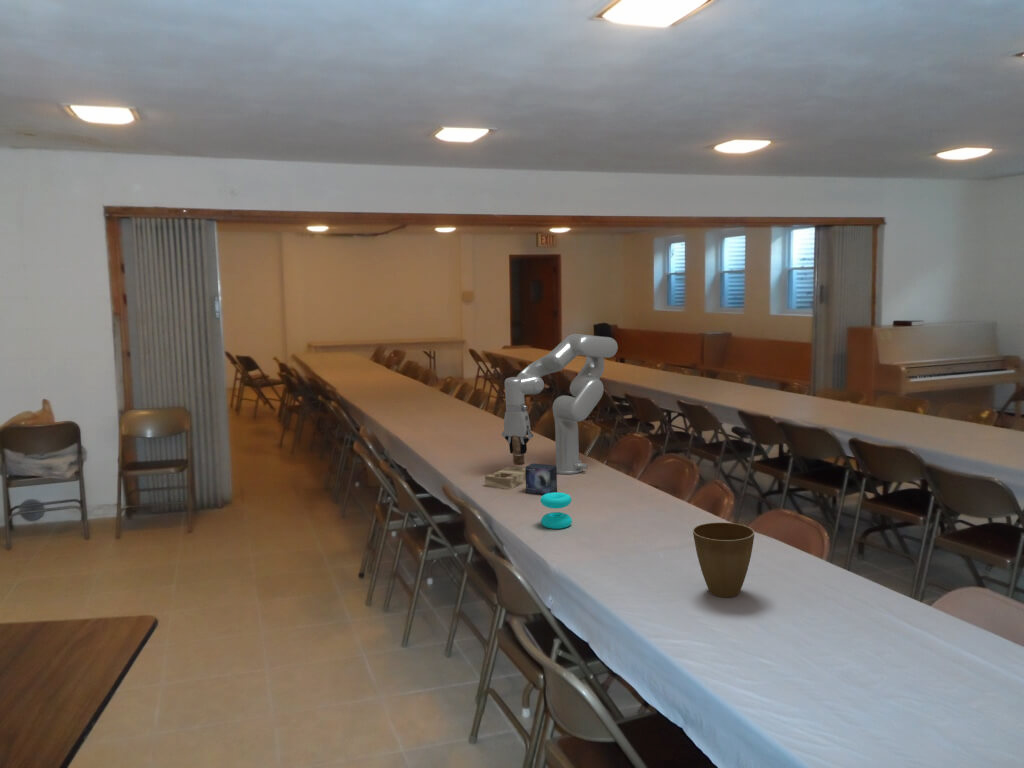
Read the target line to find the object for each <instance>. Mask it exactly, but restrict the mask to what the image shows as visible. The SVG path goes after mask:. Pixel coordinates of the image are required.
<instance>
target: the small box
mask: <svg viewBox="0 0 1024 768" xmlns="http://www.w3.org/2000/svg"><path fill="white" fill-rule="evenodd" d="M525 471H526V482H525V493H526V494H530V495H538V496H543V495H544V494H547V493H554V492H558V476H557V475H558V473H557V466H556V464H555V465H554V464H544V463H536V462H532V463H530V464H528V465H526V466H525Z"/></svg>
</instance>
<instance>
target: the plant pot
mask: <svg viewBox="0 0 1024 768" xmlns="http://www.w3.org/2000/svg"><path fill="white" fill-rule="evenodd" d="M692 536H693V540H694V545H695V551H696V556H697V559H698V564H699V567H700V571H701V572H702V576H703V580H704V581H705V582H704V583H705V584H706V587H707V589H708V592H709V593H710V594H711V595H713V596H715V597H719V598H733V597H736V596H738V595H739V594H740V592H741V590H742V587H743V585H744V583H745V578H746V576H747V573H748V570H749V566H750V562H751V557H752V553H753V547H754V540H755V530H754V529H753V528H751V527H750V526H748V525H744V524H740V523H734V522H717V521H716V522H708V523H702V524H699V525H696V526H695V527H694V528H693V529H692Z"/></svg>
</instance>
